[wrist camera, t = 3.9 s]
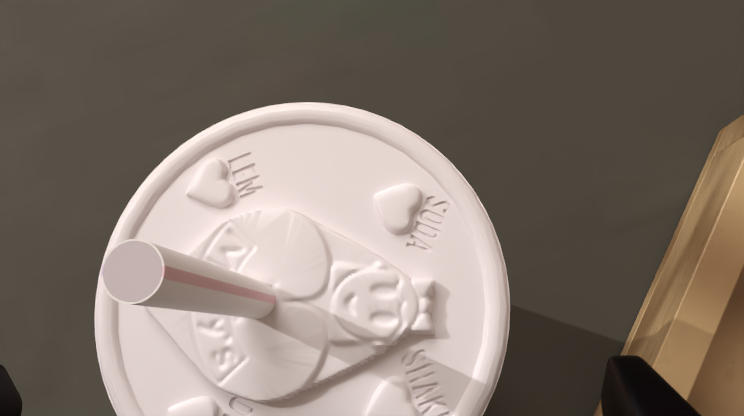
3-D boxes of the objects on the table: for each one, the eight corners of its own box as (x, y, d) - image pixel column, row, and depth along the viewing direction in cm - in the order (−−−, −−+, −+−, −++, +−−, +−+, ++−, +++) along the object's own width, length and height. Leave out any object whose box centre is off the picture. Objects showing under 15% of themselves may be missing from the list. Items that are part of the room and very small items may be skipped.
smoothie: (259, 209, 20) (-98, -66, 6) (471, 213, 20) (579, -81, 6) (245, 429, 19) (-235, 673, 5) (470, 439, 18) (606, 739, 5)
